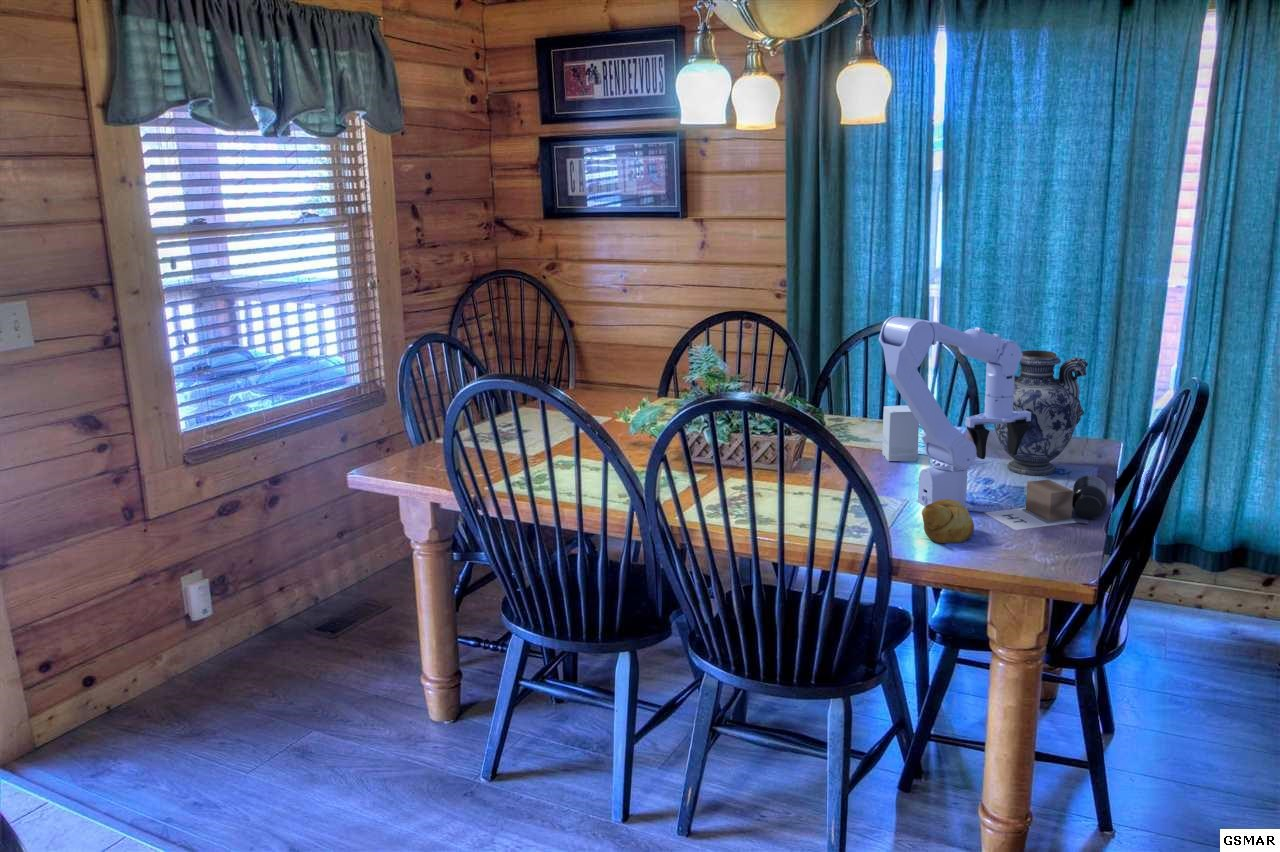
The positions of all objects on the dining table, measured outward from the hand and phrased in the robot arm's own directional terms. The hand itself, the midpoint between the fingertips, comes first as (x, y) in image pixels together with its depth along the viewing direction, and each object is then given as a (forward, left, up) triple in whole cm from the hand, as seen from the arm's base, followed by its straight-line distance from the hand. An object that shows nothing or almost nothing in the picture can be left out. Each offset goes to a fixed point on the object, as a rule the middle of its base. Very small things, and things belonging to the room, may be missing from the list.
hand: (996, 456), depth 222 cm
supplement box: (-4, +35, -10) cm, 37 cm away
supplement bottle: (+16, -11, -6) cm, 20 cm away
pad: (+3, -15, -9) cm, 18 cm away
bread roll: (-22, -18, -10) cm, 30 cm away
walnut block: (+3, -15, -9) cm, 18 cm away
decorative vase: (+20, +16, -10) cm, 27 cm away
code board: (-1, -15, -9) cm, 18 cm away
